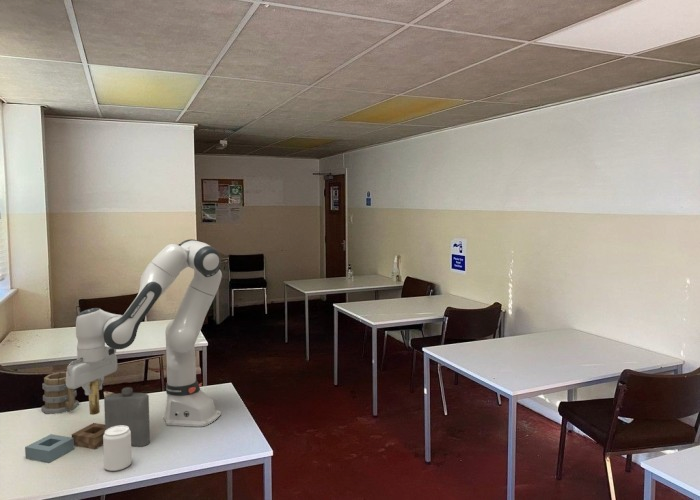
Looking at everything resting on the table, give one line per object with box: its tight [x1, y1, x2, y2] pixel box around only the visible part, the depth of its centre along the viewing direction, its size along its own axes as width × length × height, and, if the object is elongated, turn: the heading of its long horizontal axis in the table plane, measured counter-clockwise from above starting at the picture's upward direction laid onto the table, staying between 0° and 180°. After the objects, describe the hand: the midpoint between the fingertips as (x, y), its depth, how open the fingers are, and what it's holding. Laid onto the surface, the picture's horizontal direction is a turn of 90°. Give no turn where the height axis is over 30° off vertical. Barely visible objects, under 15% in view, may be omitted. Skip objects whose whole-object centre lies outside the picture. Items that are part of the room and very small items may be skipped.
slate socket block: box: [24, 433, 75, 464], centre depth 167 cm, size 10×10×4 cm
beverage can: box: [102, 425, 133, 472], centre depth 159 cm, size 8×8×12 cm
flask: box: [103, 386, 151, 448], centre depth 174 cm, size 15×6×20 cm, turn 93°
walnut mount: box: [71, 422, 105, 450], centre depth 176 cm, size 10×10×4 cm
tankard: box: [41, 371, 80, 415], centre depth 204 cm, size 20×13×15 cm, turn 50°
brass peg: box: [88, 379, 101, 416], centre depth 175 cm, size 3×3×12 cm
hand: (93, 392), depth 175 cm, fingers closed on brass peg, 3 cm apart
